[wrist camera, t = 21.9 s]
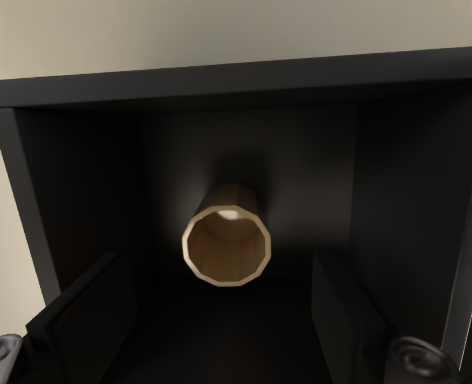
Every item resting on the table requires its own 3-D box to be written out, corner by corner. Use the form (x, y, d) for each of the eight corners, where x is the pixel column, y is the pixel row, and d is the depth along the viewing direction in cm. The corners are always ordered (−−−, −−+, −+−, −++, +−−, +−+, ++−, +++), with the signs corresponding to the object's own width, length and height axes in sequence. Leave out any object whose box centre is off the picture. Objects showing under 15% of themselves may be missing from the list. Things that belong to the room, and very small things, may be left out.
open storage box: (156, 280, 21) (76, 412, 11) (129, 104, 17) (-21, 81, 8) (352, 277, 20) (448, 422, 10) (367, 90, 16) (534, 41, 7)
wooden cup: (202, 244, 19) (187, 287, 14) (196, 184, 17) (177, 207, 13) (265, 243, 18) (271, 285, 13) (263, 181, 17) (270, 203, 12)
